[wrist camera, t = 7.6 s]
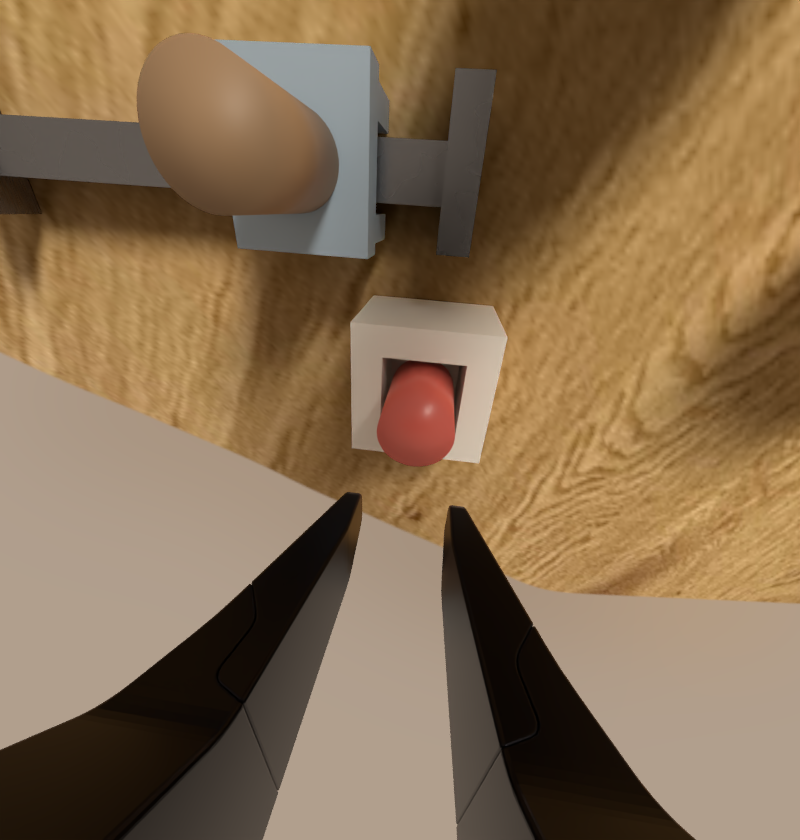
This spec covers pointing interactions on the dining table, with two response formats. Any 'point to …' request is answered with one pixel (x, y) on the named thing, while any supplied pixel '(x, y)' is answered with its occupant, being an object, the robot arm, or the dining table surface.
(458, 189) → the rail
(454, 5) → the dining table surface
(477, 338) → the socket block
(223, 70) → the carriage
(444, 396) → the button
